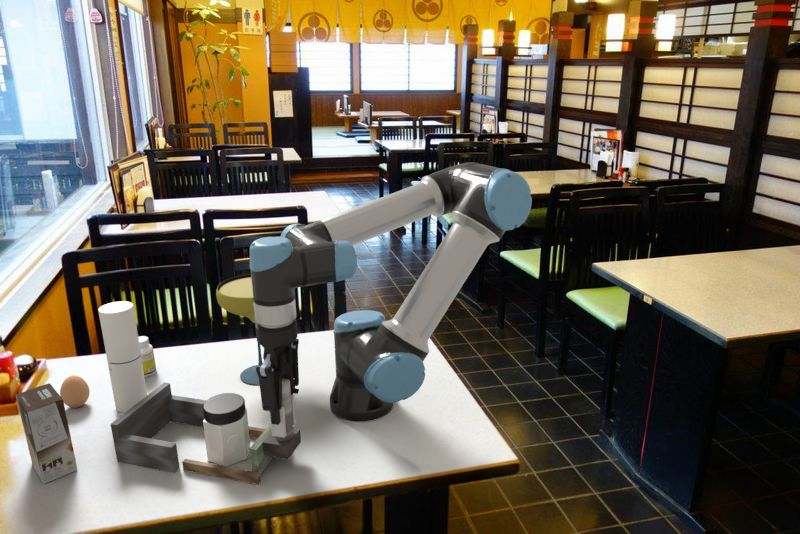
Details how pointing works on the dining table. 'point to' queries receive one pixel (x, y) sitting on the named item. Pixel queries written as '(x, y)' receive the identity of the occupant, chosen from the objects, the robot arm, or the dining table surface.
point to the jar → (226, 429)
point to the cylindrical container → (123, 354)
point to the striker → (275, 445)
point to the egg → (74, 391)
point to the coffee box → (47, 432)
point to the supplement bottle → (147, 356)
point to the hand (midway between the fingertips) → (284, 429)
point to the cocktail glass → (240, 312)
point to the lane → (144, 451)
